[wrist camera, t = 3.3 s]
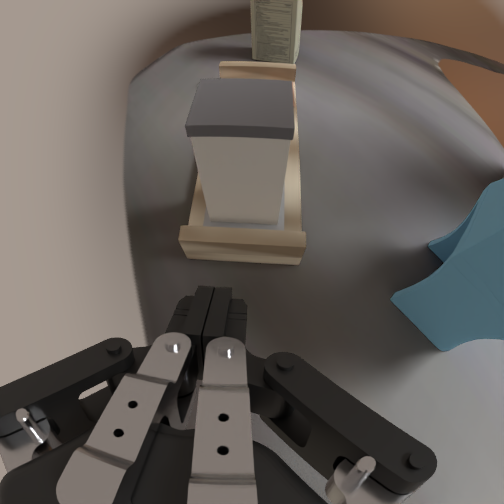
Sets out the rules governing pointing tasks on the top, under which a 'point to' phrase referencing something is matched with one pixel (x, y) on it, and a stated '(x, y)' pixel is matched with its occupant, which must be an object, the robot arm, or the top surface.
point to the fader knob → (242, 149)
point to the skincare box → (276, 30)
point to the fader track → (243, 239)
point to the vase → (463, 279)
